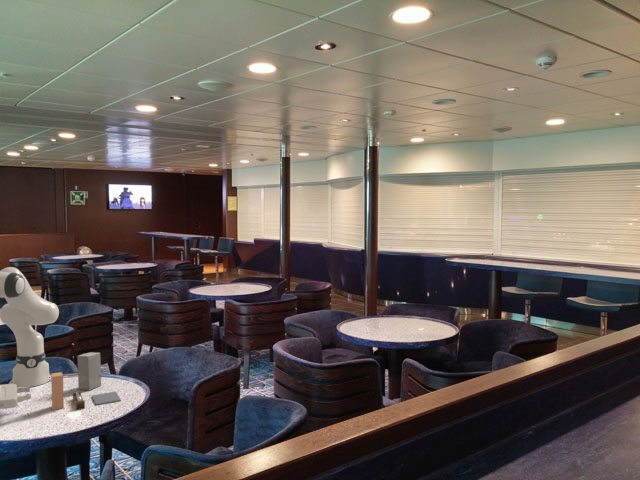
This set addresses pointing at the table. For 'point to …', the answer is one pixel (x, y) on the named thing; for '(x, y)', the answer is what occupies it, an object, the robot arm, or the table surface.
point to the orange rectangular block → (57, 390)
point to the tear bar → (78, 400)
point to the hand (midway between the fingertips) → (30, 392)
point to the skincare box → (89, 371)
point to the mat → (106, 398)
